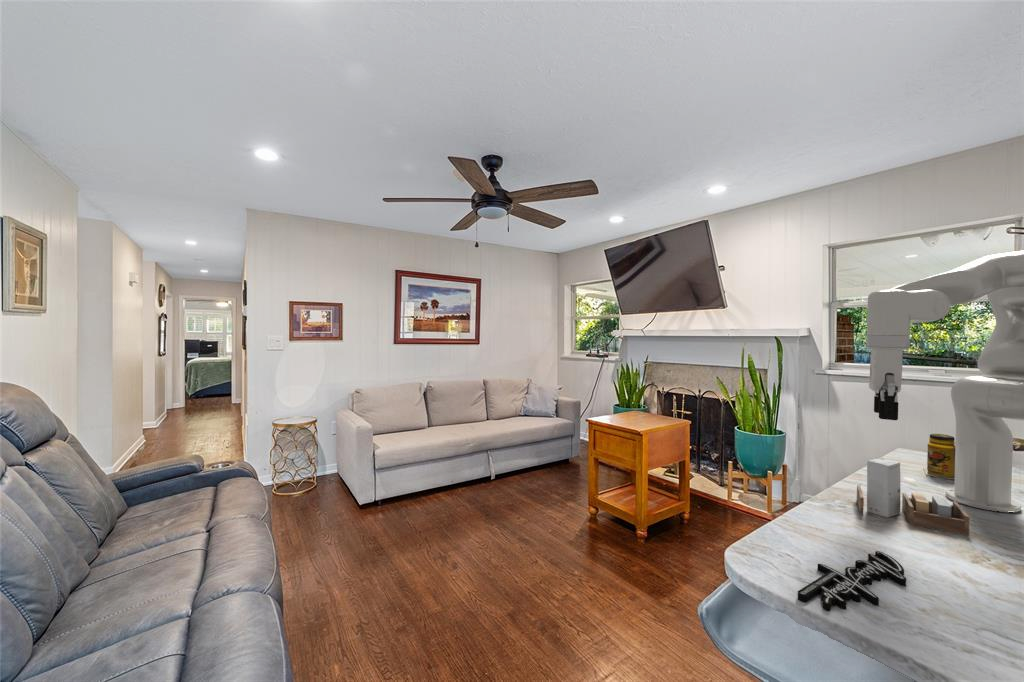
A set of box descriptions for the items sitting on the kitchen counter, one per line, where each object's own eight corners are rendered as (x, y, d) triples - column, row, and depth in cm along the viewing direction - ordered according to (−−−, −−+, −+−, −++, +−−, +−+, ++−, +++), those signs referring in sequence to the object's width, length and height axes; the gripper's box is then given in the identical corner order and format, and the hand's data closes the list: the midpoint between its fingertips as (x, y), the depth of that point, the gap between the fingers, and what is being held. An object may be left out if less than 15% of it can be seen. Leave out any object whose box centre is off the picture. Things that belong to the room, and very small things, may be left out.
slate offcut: (931, 517, 97) (932, 496, 97) (943, 519, 96) (944, 498, 96) (937, 527, 92) (938, 504, 92) (950, 529, 91) (951, 506, 91)
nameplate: (854, 542, 83) (922, 566, 75) (854, 549, 83) (922, 574, 75) (781, 584, 69) (855, 620, 60) (781, 594, 69) (855, 631, 60)
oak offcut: (911, 513, 99) (911, 492, 99) (922, 515, 98) (923, 494, 98) (915, 523, 94) (916, 500, 94) (928, 525, 93) (928, 503, 93)
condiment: (926, 475, 126) (927, 435, 126) (923, 468, 132) (924, 430, 132) (961, 481, 121) (962, 439, 121) (956, 473, 128) (957, 434, 127)
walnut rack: (856, 500, 107) (857, 485, 107) (956, 518, 96) (956, 501, 96) (860, 514, 98) (860, 497, 98) (968, 536, 88) (969, 517, 88)
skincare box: (888, 518, 96) (889, 465, 96) (865, 511, 100) (866, 460, 100) (901, 513, 99) (902, 462, 99) (878, 506, 103) (879, 457, 103)
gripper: (863, 342, 108) (861, 409, 108) (870, 343, 94) (868, 420, 94) (902, 343, 104) (900, 412, 104) (916, 344, 90) (914, 424, 90)
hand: (885, 416), depth 99 cm, fingers open, 9 cm apart
